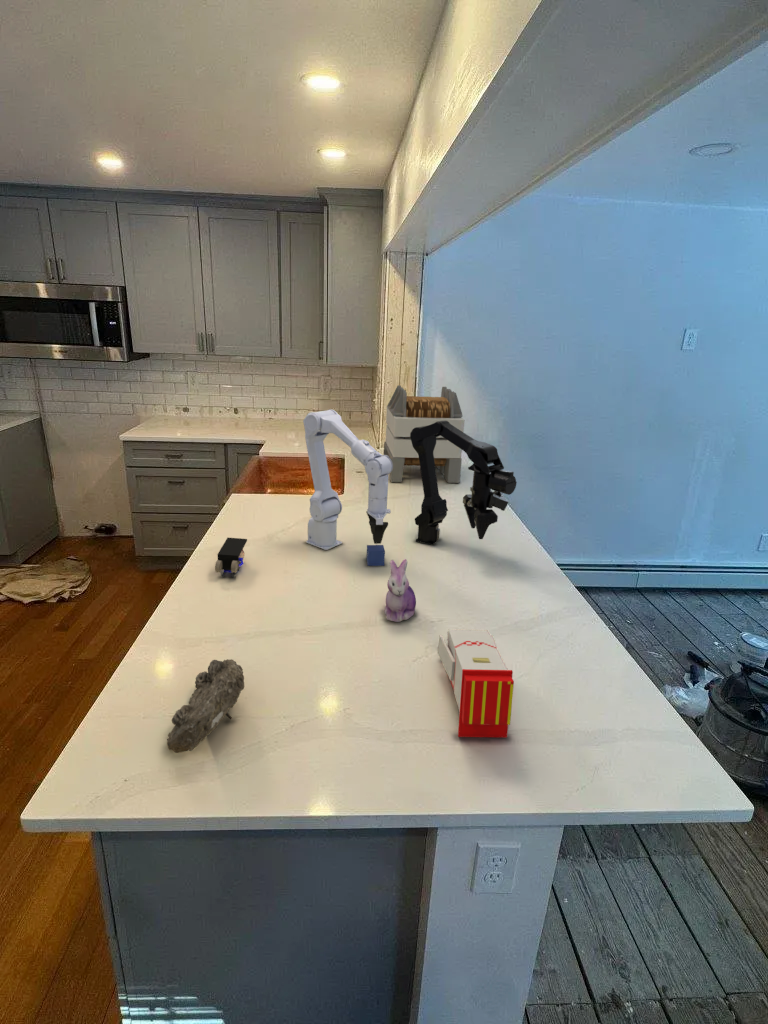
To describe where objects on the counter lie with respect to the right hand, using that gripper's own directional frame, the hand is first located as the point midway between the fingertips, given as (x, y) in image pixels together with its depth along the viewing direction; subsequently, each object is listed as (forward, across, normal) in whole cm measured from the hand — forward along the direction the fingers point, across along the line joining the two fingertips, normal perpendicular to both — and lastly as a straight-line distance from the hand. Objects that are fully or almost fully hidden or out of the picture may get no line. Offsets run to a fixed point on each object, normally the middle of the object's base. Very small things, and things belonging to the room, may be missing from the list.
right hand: (476, 533), depth 179 cm
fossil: (+9, -70, +70) cm, 100 cm away
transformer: (+9, +100, 0) cm, 100 cm away
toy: (+9, -66, +19) cm, 69 cm away
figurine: (+9, -33, +29) cm, 45 cm away
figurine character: (+9, -6, +75) cm, 76 cm away
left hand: (+1, -2, +32) cm, 32 cm away
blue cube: (+9, -2, +32) cm, 33 cm away
